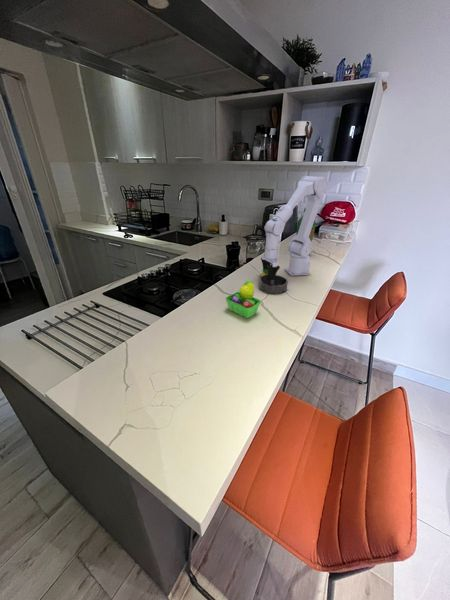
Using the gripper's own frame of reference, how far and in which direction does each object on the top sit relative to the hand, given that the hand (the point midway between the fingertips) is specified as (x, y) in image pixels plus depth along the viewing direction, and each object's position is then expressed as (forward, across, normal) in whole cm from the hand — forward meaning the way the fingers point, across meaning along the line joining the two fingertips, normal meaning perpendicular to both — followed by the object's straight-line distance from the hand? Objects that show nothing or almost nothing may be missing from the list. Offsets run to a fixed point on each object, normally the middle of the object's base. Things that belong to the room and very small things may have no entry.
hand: (268, 276), depth 121 cm
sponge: (+2, 0, 0) cm, 2 cm away
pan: (+2, +9, 0) cm, 9 cm away
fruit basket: (+3, +27, -18) cm, 32 cm away
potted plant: (+1, -35, +32) cm, 47 cm away
